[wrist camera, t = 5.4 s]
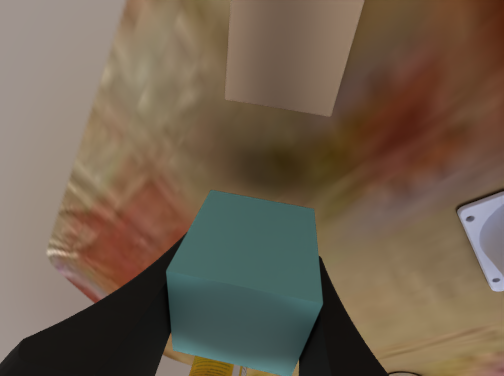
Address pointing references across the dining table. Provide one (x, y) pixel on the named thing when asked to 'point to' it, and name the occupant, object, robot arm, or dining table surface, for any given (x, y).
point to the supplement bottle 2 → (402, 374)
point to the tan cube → (289, 52)
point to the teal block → (246, 283)
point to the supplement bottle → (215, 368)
